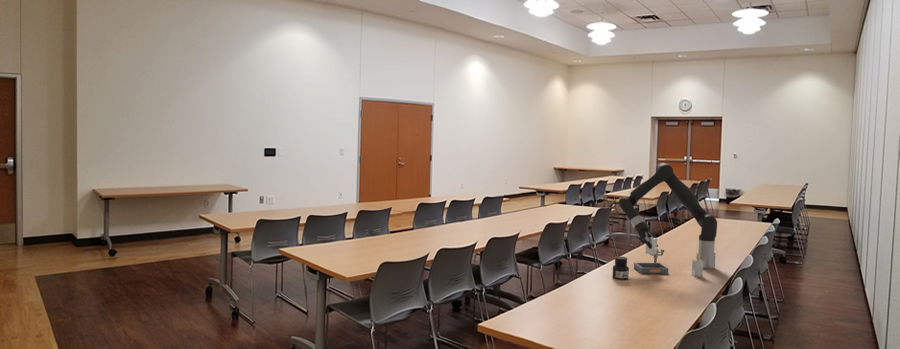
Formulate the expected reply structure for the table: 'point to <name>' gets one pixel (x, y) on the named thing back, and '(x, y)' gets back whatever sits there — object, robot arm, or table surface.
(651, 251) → the block
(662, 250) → the mechanical component
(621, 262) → the ink bottle
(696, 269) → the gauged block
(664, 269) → the tray
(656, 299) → the table surface
